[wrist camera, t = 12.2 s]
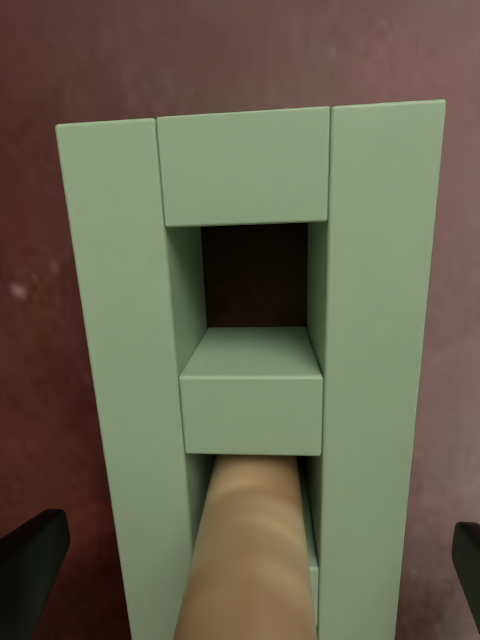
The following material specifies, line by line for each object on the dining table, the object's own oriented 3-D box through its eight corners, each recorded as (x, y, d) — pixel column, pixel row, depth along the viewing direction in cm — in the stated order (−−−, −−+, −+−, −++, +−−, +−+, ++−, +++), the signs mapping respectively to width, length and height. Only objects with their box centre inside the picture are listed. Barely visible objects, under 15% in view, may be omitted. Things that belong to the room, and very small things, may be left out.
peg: (293, 393, 12) (347, 801, 4) (293, 455, 13) (339, 930, 4) (222, 393, 13) (114, 777, 4) (225, 454, 13) (139, 904, 4)
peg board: (380, 144, 10) (448, 97, 6) (353, 622, 15) (383, 764, 11) (129, 158, 11) (52, 123, 7) (177, 612, 15) (146, 743, 11)
